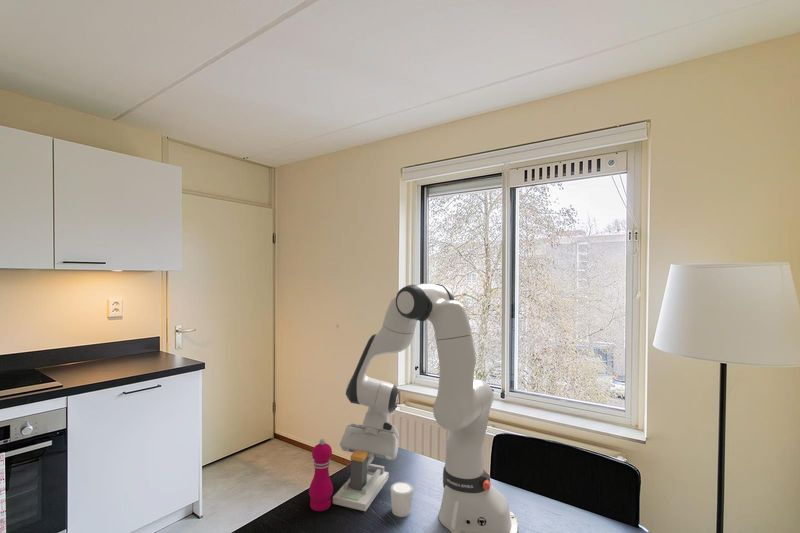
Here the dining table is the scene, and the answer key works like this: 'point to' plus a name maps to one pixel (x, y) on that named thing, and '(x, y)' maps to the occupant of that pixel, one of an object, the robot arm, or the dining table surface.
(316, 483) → the pepper mill
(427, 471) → the dining table surface
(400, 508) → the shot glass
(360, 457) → the plate
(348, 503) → the white slider switch base
